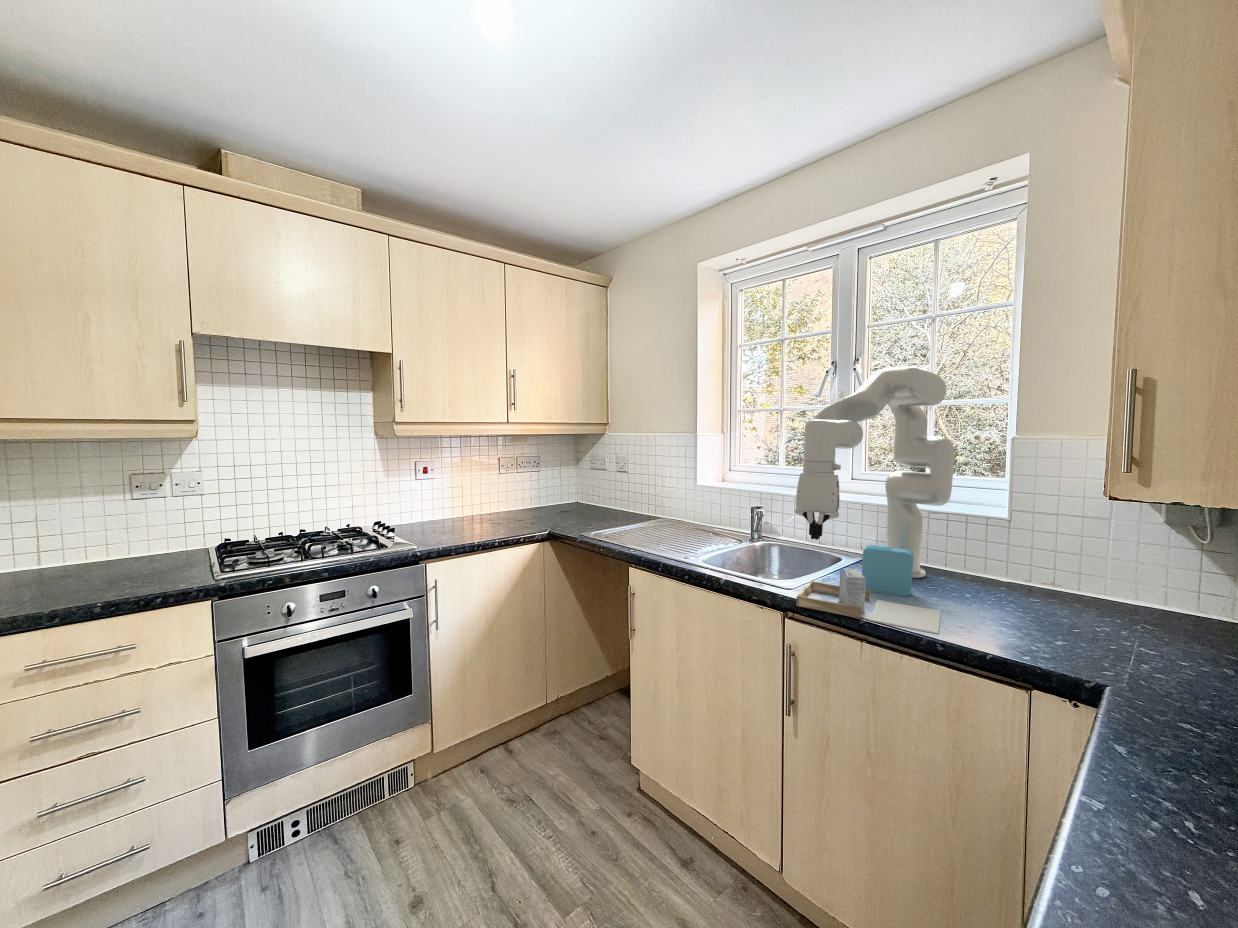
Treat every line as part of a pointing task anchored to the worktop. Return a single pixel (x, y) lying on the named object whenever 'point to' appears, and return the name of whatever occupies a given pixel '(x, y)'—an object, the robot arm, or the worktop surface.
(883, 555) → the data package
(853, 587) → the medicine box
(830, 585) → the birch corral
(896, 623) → the cream flat board
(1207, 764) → the worktop surface
